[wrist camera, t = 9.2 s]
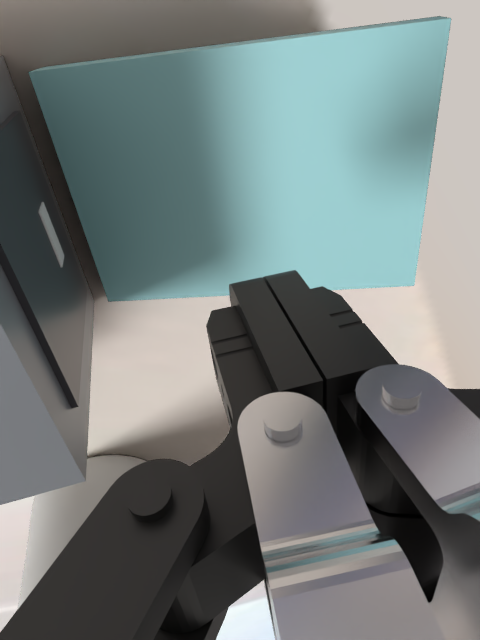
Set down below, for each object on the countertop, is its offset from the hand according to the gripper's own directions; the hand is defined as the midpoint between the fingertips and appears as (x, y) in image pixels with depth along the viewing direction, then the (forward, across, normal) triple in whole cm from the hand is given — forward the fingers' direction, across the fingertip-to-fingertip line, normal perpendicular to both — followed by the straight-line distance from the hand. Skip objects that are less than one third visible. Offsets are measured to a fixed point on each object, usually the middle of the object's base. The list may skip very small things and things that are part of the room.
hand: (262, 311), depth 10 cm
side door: (+10, +5, 0) cm, 11 cm away
